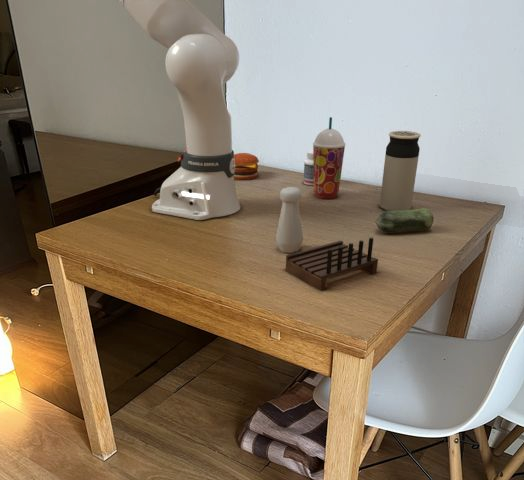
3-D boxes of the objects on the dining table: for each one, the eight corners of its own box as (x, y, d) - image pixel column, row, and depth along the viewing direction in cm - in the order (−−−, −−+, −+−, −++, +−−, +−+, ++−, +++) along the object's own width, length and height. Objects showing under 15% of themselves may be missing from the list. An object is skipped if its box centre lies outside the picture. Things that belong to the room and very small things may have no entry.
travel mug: (405, 214, 136) (416, 138, 126) (375, 209, 139) (383, 135, 129) (414, 205, 141) (425, 132, 132) (385, 200, 145) (394, 129, 135)
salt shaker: (300, 255, 114) (302, 193, 107) (273, 253, 114) (274, 191, 108) (304, 245, 118) (306, 185, 111) (278, 243, 119) (279, 183, 112)
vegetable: (425, 225, 129) (428, 204, 126) (435, 232, 125) (439, 211, 122) (369, 229, 127) (372, 208, 124) (378, 237, 122) (381, 215, 120)
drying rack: (285, 270, 107) (286, 234, 103) (339, 254, 114) (342, 220, 110) (320, 290, 100) (323, 253, 96) (376, 273, 106) (381, 236, 102)
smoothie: (320, 189, 154) (324, 113, 143) (346, 194, 150) (353, 116, 139) (304, 196, 148) (308, 118, 137) (331, 202, 144) (337, 121, 133)
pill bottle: (316, 186, 156) (317, 154, 151) (300, 184, 158) (301, 152, 154) (324, 182, 160) (326, 151, 155) (308, 179, 162) (310, 148, 157)
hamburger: (226, 180, 162) (225, 157, 159) (230, 172, 170) (229, 149, 167) (257, 180, 161) (257, 157, 158) (260, 172, 169) (260, 150, 166)
